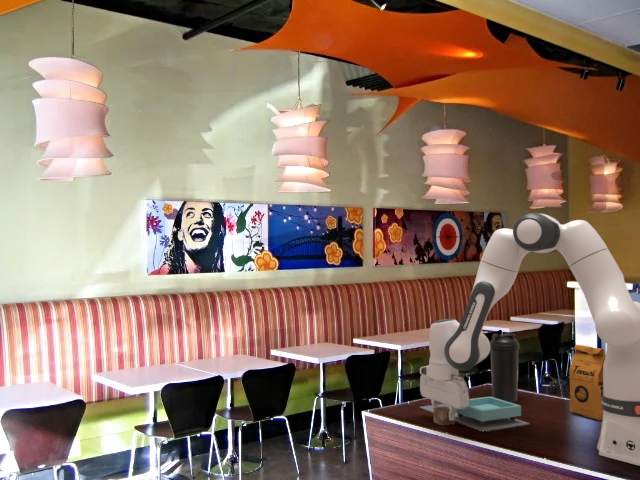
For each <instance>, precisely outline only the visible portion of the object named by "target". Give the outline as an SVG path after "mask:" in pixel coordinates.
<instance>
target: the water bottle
mask: <svg viewBox="0 0 640 480" xmlns="http://www.w3.org/2000/svg"><path fill="white" fill-rule="evenodd" d="M515 337H517V334H515V333H511V332H510V333H503V334H498V333H493V334H492V335H491V340H490V341H489V342H490V346H491V349H490V369H491V373H490V374H491V397H493V398H497V399H500V400H503V401H507V402H510V403H514V402H517V401H518V385H519V384H518V383H519V351H520V345H521V344H520V343H519V341H518V340H517V338H515Z"/></svg>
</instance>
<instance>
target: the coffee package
mask: <svg viewBox="0 0 640 480" xmlns="http://www.w3.org/2000/svg"><path fill="white" fill-rule="evenodd" d="M573 349H574V350H575V351H574V355H573V358H572V360H571V364H570V366H569V395H570V398H569V405H570V407H569V411H570V412H572V413H575V414H577V415H581V416H584V417H586V418H589V419H594V420H596V421H602V419H603V409H602V408H601V406H602V403H601V401H602V395H603V364H604V361H605V356H606V352H605V351H606V350H605V349H604V348H601V347H600V348H598V347H593V346H592V347H591V346H587V345H581V344H576V345H575V346H574V348H573Z"/></svg>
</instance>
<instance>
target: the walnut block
mask: <svg viewBox="0 0 640 480" xmlns="http://www.w3.org/2000/svg"><path fill="white" fill-rule="evenodd" d="M449 411H450V409H449V407H446V406H444V407H437V408H434V413H433V423H435V424H438V425H440V426H441V425H442V427H445V426H451V425H450V424H452V425H455V423H456V422H455V419H454V420H452V421H451V420H448V419H447V414H449ZM444 425H445V426H444Z"/></svg>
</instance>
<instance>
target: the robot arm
mask: <svg viewBox="0 0 640 480" xmlns="http://www.w3.org/2000/svg"><path fill="white" fill-rule="evenodd" d="M556 251H558V252H559V253H560V254H561V255H562V257H563V258H564V260H565V261H566V263H567V265H568V267H569V269H570V271H571V272H572V275H573V276H574V278H575V280H576V282H577V284H578V285H579V287H580V289H581V291H582V293H583V295H584V298H585V300H586V303H587V306H588V309H589V312H590V315H591V317H592V319H593V322H594V329H595V332H596V334H597V336H598V337H599V339H600V340H601V341H603V342H604V343H605V344H607V345H606V350H605V351H606V352H605V355H606V356H605V361H604V364H603V395H602V401H601V403H602V406H601V408H602V409H603V419H602V420H601V427H600V434H599V439H598V441H597V445H596V449H597V450H598V455H599V456H602V457H605V458H609V459H613V460H617V461H621V462H624V463H626V464H627V463H628V464H632V465H635V466H639V467H640V302H638V301H635V300H634V301H633V298H632V296H631V293H630V292H629V290H628V289H629V288H628V287H627V286H628V285H626V282H625V276H624V273H623V272H622V270H621V269H620V267H619V264H618V263H617V262H616V260H615V257H614V256H613V255H612V253H611V252H610V250H609V248H608V245H606V243H605V241H604V240H603V239H602V237H601V235H599V233H598V232H597V230H596V229H595V228H594V227H593V226H592V225H591V224H590V223H589V222H588V221H587V220H584V219H576V220H571V221H569V222H567V223H564V224H563V223H562V222H561V221H560V220H559V219H558V218H555V217H553V216H551V215H548V214H545V213H537V212H529V213H527V214H524V215H522V216H520V217H519V218H518V219H517V220H516V222H515V223H514V225H513V228H505V227H504V228H499V229H497V230H494V232H493V233H492V234H491V237H490V239H489V240H488V242H487V245H486V246H485V248H484V251H483V253H482V256H481V260H480V263H479V265H478V269H477V272H476V276H475V280H474V284H473V287H472V290H471V293H470V297H469V299H468V301H467V304H466V307H465V310H464V313H463V314H462V317H461V320H460V322H458V320H456V319H455V318H443V319H438V320H435V321H434V322H432V324H431V325H430V329H429V336H428V338H429V340H428V342H429V343H428V349H429V353H430V355H429V361H428V363H429V364H428V365H424V366H421V367H420V368H419V374H420V377H419V378H420V379H419V391H420V395H421V396H422V397H423V398H427V399H428V400H430V401H431V405H432V406H433V409H434V408H437V407H439V404H446V405H449V409H450V411H449V414H447V419H448V420H451V421H452V420H454V419H455V413H456V411H457V409H464V408H467V407H468V406H469V399H470V396H469V387H468V386H467V385H468V384H467V382H466V380H465V379H464V377H463V376H459V372H460V371H463V372H465V371H466V372H467V371H469V370H472V368H474V367H475V366H476V365H477V364H479V363H481V362H483V361H484V360H485V359H486V358H488V356H489V355H490V354H491V346H490V342H491V341H490V340H489V338H488V337H487V335H486V334H485V333H482V330H483V328H484V325H485V324H486V323H485V322H486V321H487V317H488V315H489V313H490V311H491V310H492V308H493V307H494V305H496V303H497V302H499V300H500V299H502V298H503V297H504V296H506V295H507V294H508V293H509V292H510V290H511V288H512V286H513V285H514V283H515V281H516V278H517V277H518V274H519V270H520V268H521V264H522V261H523V259H524V257H526V255H527V254H529V253H533V254H549V253H554V252H556Z"/></svg>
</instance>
